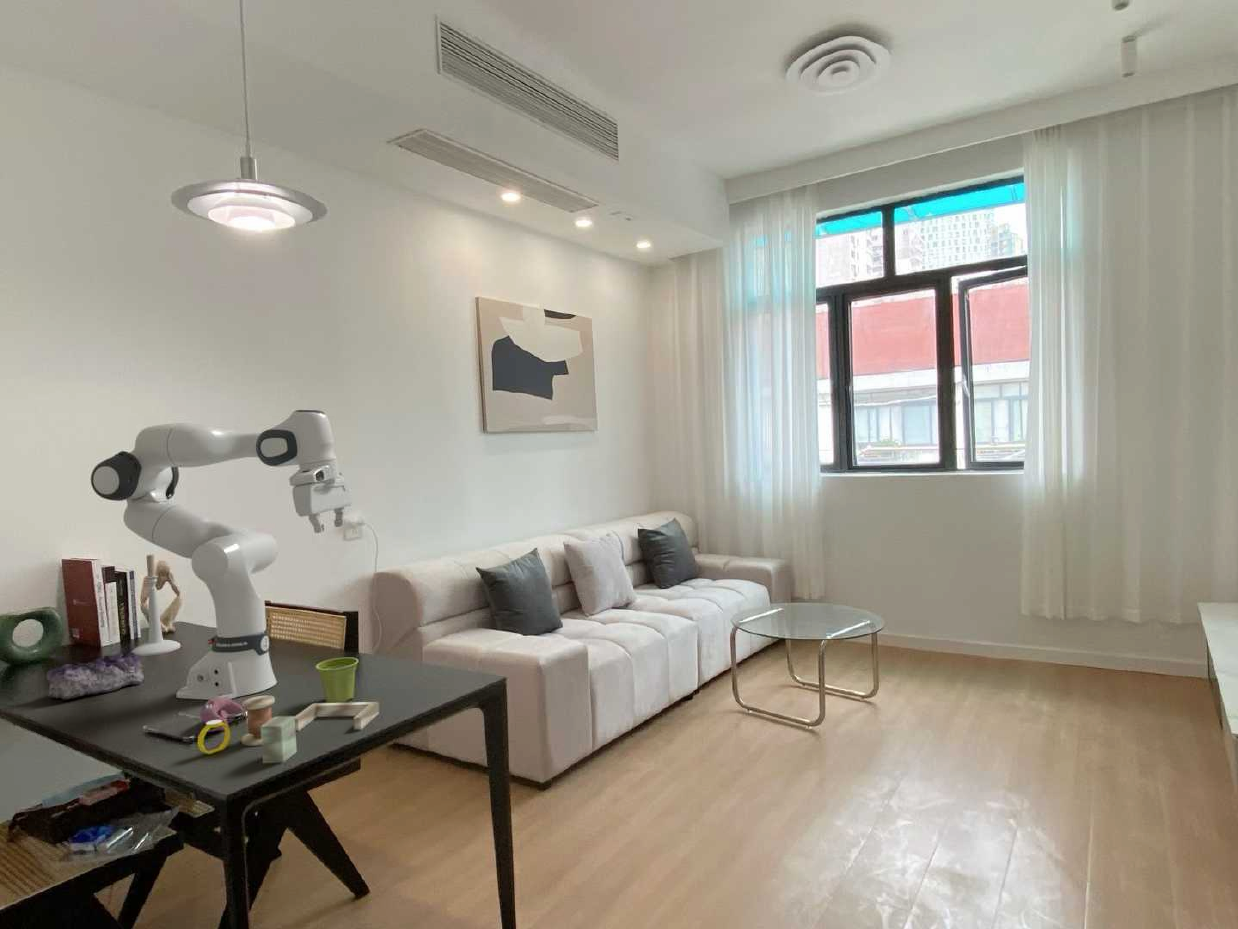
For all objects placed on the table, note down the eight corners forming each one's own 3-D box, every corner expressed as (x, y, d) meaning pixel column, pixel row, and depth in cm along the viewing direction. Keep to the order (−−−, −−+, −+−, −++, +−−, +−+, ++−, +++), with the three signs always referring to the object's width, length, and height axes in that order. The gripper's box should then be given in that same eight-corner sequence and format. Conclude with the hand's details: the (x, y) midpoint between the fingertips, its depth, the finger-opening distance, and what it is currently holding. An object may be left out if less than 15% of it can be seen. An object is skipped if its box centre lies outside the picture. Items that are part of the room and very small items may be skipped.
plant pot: (320, 709, 169) (317, 671, 168) (316, 697, 177) (313, 661, 177) (363, 701, 173) (361, 664, 173) (357, 690, 181) (355, 655, 181)
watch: (204, 759, 144) (202, 728, 143) (195, 756, 145) (194, 726, 145) (233, 747, 149) (231, 717, 149) (225, 745, 150) (223, 715, 150)
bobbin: (234, 746, 149) (232, 707, 149) (254, 732, 156) (251, 695, 156) (268, 745, 149) (265, 706, 149) (286, 732, 156) (283, 694, 156)
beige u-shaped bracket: (292, 731, 156) (291, 719, 156) (313, 714, 166) (313, 703, 166) (361, 729, 155) (360, 718, 155) (379, 713, 165) (378, 702, 164)
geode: (137, 676, 203) (138, 641, 202) (149, 690, 195) (149, 653, 194) (44, 694, 188) (44, 656, 187) (52, 710, 180) (52, 670, 179)
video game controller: (229, 722, 167) (213, 696, 167) (247, 712, 168) (231, 686, 167) (209, 740, 158) (191, 712, 157) (228, 729, 158) (211, 701, 157)
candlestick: (190, 644, 235) (184, 550, 234) (156, 656, 222) (149, 556, 221) (156, 644, 237) (150, 550, 237) (121, 655, 225) (114, 557, 224)
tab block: (263, 763, 141) (260, 726, 140) (277, 752, 146) (274, 716, 145) (283, 762, 140) (281, 726, 140) (296, 751, 145) (294, 716, 145)
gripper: (330, 472, 193) (339, 524, 194) (284, 479, 173) (295, 537, 174) (352, 469, 192) (362, 521, 193) (309, 475, 172) (319, 534, 173)
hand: (329, 529), depth 183 cm, fingers open, 8 cm apart
